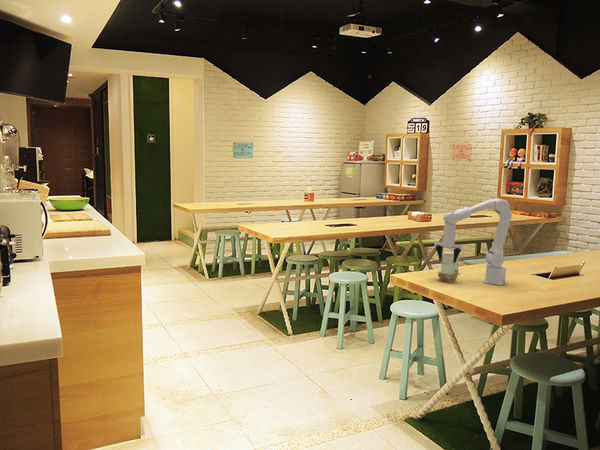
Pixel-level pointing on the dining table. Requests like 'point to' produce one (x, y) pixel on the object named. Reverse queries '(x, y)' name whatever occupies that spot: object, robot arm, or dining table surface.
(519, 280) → the dining table surface
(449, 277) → the top tile
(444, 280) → the bottom tile
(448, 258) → the ink box
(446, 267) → the mint block
